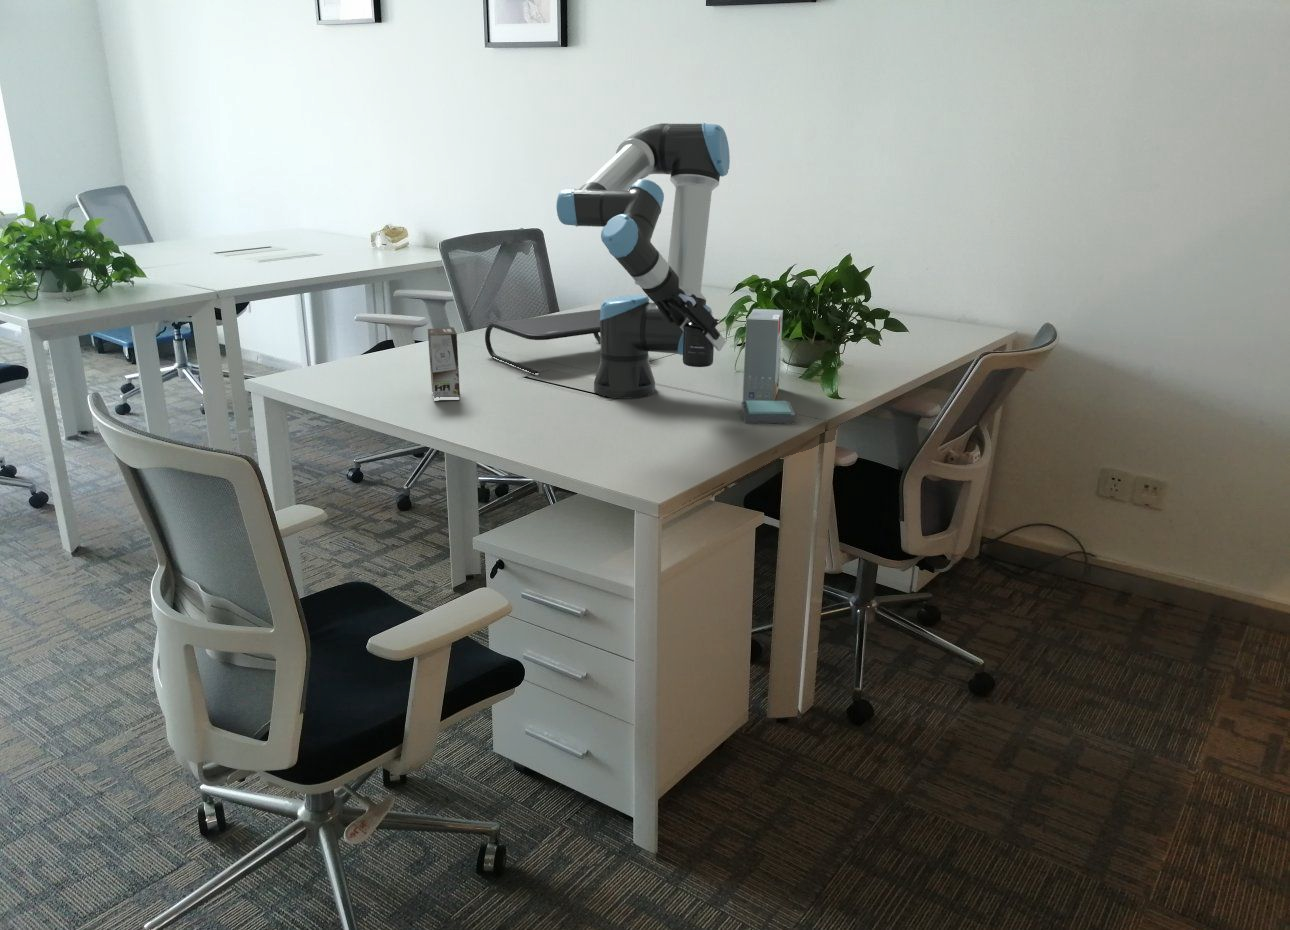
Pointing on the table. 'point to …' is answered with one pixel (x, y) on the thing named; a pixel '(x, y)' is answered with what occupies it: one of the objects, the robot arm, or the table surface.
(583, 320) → the monitor stand
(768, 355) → the hard drive box
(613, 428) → the table surface
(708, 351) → the supplement bottle
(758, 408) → the scale plate
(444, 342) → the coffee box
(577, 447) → the table surface
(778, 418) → the scale base
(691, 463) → the table surface
